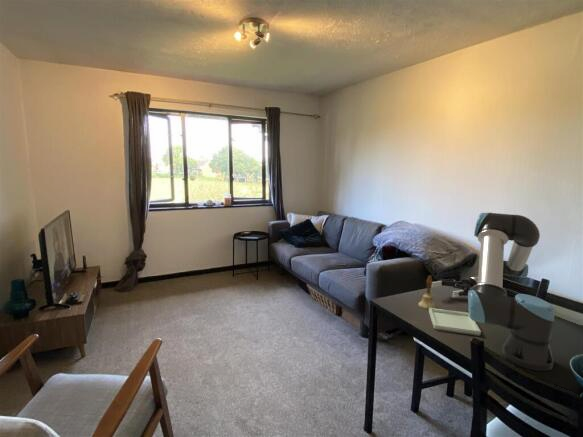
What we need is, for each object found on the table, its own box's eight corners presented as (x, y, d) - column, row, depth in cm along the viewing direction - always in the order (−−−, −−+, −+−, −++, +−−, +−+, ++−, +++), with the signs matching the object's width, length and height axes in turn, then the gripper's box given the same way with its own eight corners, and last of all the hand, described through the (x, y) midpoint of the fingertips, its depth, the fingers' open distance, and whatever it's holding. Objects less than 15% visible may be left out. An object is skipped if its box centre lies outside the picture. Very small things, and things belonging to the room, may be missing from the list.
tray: (480, 335, 134) (480, 331, 134) (434, 329, 139) (434, 324, 138) (469, 316, 151) (470, 313, 151) (428, 311, 156) (429, 307, 156)
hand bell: (420, 301, 168) (423, 272, 166) (437, 305, 164) (440, 275, 161) (416, 306, 162) (419, 276, 159) (433, 310, 157) (436, 280, 154)
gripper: (492, 300, 162) (462, 306, 154) (451, 283, 185) (423, 287, 177) (494, 286, 161) (463, 291, 153) (453, 270, 183) (424, 274, 176)
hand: (442, 289), depth 165 cm, fingers open, 13 cm apart
